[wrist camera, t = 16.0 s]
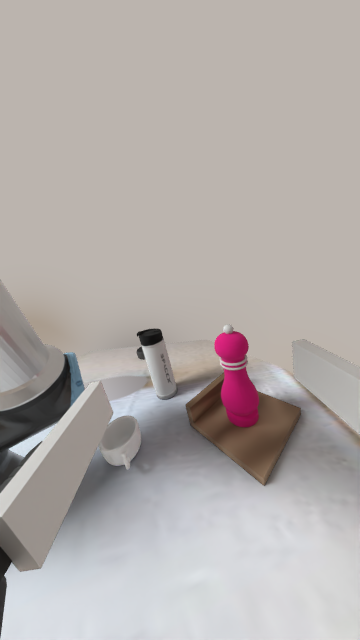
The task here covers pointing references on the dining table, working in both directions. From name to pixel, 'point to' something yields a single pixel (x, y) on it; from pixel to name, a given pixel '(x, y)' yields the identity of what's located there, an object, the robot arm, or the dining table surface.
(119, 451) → the teacup
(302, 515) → the dining table surface
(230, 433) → the spice board
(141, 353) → the smart speaker
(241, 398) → the pepper mill
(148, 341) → the travel mug
